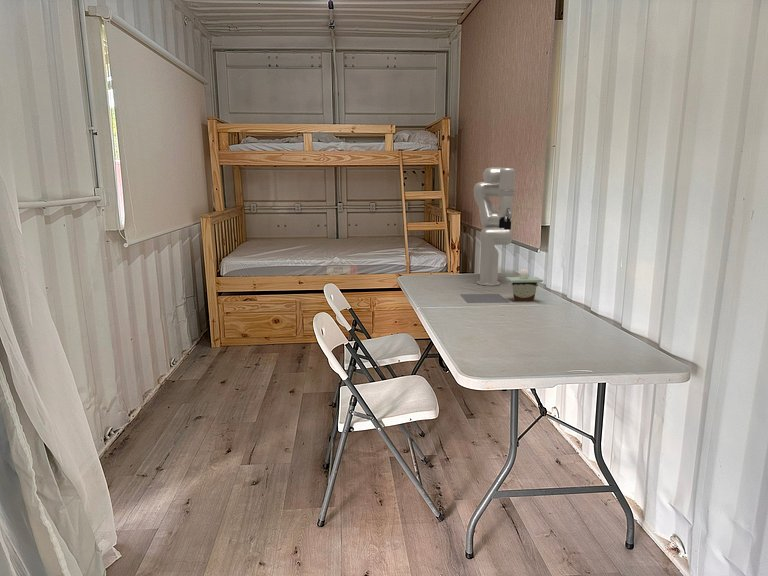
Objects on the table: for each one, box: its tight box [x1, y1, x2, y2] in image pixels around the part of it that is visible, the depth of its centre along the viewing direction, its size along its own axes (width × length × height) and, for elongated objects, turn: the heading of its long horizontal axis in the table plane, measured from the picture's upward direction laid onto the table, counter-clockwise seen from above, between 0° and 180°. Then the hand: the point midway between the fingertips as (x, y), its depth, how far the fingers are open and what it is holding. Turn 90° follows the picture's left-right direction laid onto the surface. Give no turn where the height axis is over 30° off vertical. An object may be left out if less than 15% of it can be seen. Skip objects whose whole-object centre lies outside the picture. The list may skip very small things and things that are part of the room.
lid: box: [505, 268, 544, 284], centre depth 252 cm, size 9×15×6 cm, turn 94°
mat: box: [459, 293, 511, 304], centre depth 258 cm, size 20×20×1 cm
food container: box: [510, 282, 539, 302], centre depth 254 cm, size 12×6×10 cm, turn 84°
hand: (504, 228), depth 264 cm, fingers open, 9 cm apart
